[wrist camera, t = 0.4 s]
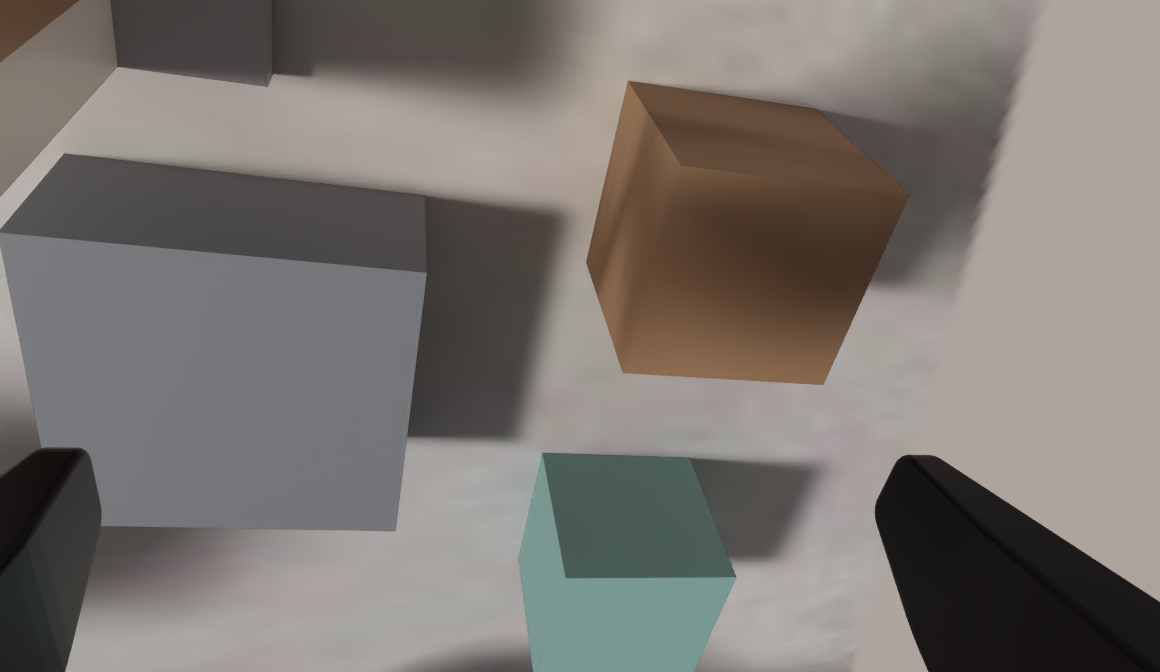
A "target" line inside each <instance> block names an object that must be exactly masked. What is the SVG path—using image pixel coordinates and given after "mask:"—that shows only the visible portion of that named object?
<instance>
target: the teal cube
mask: <svg viewBox="0 0 1160 672" xmlns="http://www.w3.org/2000/svg"><path fill="white" fill-rule="evenodd" d="M518 562H519V569H520V577H521V584H522V592H523V600H524V607H525V615H526V622H527V630H528V637H529V645H530V652H531V660H532V668H533V672H694V670H695V668H696V666H697V663H698V661H699V659H700V657H701V654H702V652H703V650H704V648H705V646H706V643H707V641H708V639H709V637H710V635H711V632H712V630H713V628H714V626H715V624H716V621H717V619H718V617H719V615H720V612H721V610H722V608H723V606H724V604H725V601H726V599H727V597H728V595H729V593H730V590H731V588H732V586H733V584H734V581H735V579H736V575H735V573H734V570H733V568H732V565H731V562H730V560H729V557H728V555H727V552H726V550H725V547H724V544H723V542H722V539H721V537H720V534H719V532H718V529H717V526H716V524H715V521H714V519H713V516H712V514H711V511H710V509H709V506H708V503H707V501H706V498H705V496H704V493H703V491H702V488H701V485H700V483H699V480H698V478H697V475H696V473H695V470H694V468H693V465H692V462H691V460H690V458H682V457H652V456H622V455H592V454H563V453H542V456H541V461H540V465H539V469H538V474H537V478H536V482H535V487H534V491H533V495H532V500H531V504H530V508H529V513H528V517H527V521H526V526H525V530H524V535H523V539H522V543H521V548H520V552H519V556H518Z"/></svg>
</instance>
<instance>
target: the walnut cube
mask: <svg viewBox="0 0 1160 672" xmlns="http://www.w3.org/2000/svg"><path fill="white" fill-rule="evenodd" d="M909 195H910V194H909V193H907V192H906V191H905V190H904V189H903V188H902V187H901V186H900V185H899V184H898V183H897V182H895V181H894V180H893V179H892V178H891V177H890V176H889V175H888V174H887V173H886V172H884V171H883V170H882V169H881V168H880V167H879V166H878V165H877V164H876V163H875V162H874V161H872V160H871V159H870V158H869V157H868V156H867V155H866V154H865V153H864V152H863V151H861V150H860V149H859V148H858V147H857V146H856V145H855V144H854V143H853V142H852V141H851V140H849V139H848V138H847V137H846V136H845V135H844V134H843V133H842V132H841V131H840V130H839V129H837V128H836V127H835V126H834V125H833V124H832V123H831V122H830V121H829V120H828V119H826V118H825V117H824V116H823V115H822V114H821V113H820V112H819V111H818V110H817V109H812V108H805V107H798V106H792V105H785V104H778V103H772V102H765V101H758V100H752V99H745V98H738V97H732V96H725V95H718V94H711V93H705V92H698V91H691V90H685V89H678V88H671V87H665V86H658V85H651V84H645V83H638V82H631V81H628V83H627V87H626V92H625V96H624V100H623V105H622V109H621V113H620V118H619V122H618V126H617V131H616V135H615V139H614V144H613V148H612V152H611V157H610V161H609V165H608V170H607V174H606V178H605V183H604V187H603V191H602V196H601V200H600V204H599V209H598V213H597V217H596V222H595V226H594V230H593V235H592V239H591V243H590V248H589V252H588V256H587V261H586V263H587V266H588V269H589V272H590V275H591V278H592V281H593V284H594V287H595V290H596V293H597V296H598V299H599V302H600V305H601V308H602V311H603V314H604V317H605V320H606V323H607V326H608V329H609V332H610V335H611V338H612V341H613V345H614V348H615V351H616V354H617V357H618V360H619V363H620V366H621V369H622V372H623V373H633V374H649V375H666V376H683V377H699V378H716V379H732V380H749V381H766V382H782V383H799V384H815V385H823V384H824V382H825V380H826V378H827V376H828V373H829V371H830V369H831V367H832V365H833V362H834V360H835V358H836V356H837V354H838V351H839V349H840V347H841V345H842V343H843V340H844V338H845V336H846V334H847V331H848V329H849V327H850V325H851V323H852V320H853V318H854V316H855V314H856V312H857V309H858V307H859V305H860V303H861V301H862V298H863V296H864V294H865V292H866V290H867V287H868V285H869V283H870V281H871V278H872V276H873V274H874V272H875V270H876V267H877V265H878V263H879V261H880V259H881V256H882V254H883V252H884V250H885V248H886V245H887V243H888V241H889V239H890V237H891V234H892V232H893V230H894V228H895V225H896V223H897V221H898V219H899V217H900V214H901V212H902V210H903V208H904V206H905V203H906V201H907V199H908V197H909Z"/></svg>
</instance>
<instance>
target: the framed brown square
mask: <svg viewBox="0 0 1160 672" xmlns="http://www.w3.org/2000/svg"><path fill="white" fill-rule="evenodd" d="M117 67H123V68H131V69H138V70H146V71H153V72H161V73H168V74H176V75H183V76H191V77H198V78H206V79H213V80H221V81H228V82H236V83H243V84H251V85H258V86H266V87H268V85H269V83H270V80H271V78H272V75H273V32H272V0H0V197H1V196H2V195H3V194H4V192H5V191H6V190H7V189H8V188H9V187H10V186H11V185H12V184H13V182H14V181H15V180H16V179H17V178H18V177H19V176H20V175H21V174H22V172H23V171H24V170H25V169H26V168H27V167H28V166H29V165H30V164H31V162H32V161H33V160H34V159H35V158H36V157H37V156H38V155H39V154H40V152H41V151H42V150H43V149H44V148H45V147H46V146H47V145H48V144H49V142H50V141H51V140H52V139H53V138H54V137H55V136H56V135H57V134H58V132H59V131H60V130H61V129H62V128H63V127H64V126H65V125H66V124H67V122H68V121H69V120H70V119H71V118H72V117H73V116H74V115H75V114H76V112H77V111H78V110H79V109H80V108H81V107H82V106H83V105H84V104H85V102H86V101H87V100H88V99H89V98H90V97H91V96H92V95H93V94H94V92H95V91H96V90H97V89H98V88H99V87H100V86H101V85H102V84H103V82H104V81H105V80H106V79H107V78H108V77H109V76H110V75H111V74H112V72H113V71H114V70H115V69H116V68H117Z"/></svg>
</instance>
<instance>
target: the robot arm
mask: <svg viewBox="0 0 1160 672" xmlns="http://www.w3.org/2000/svg"><path fill="white" fill-rule="evenodd" d="M101 518H102V510H101V503H100V498H99V494H98V489H97V484H96V480H95V475H94V470H93V466H92V461H91V458H90V456H89V454H88V452H87V451H86V450H84V449H82V448H78V447H44V448H39V449H37V450H35V451H33V452H31V453H30V454H29V455H27V456H26V457H25V458H23V459H22V460H20V461H19V462H18V463H16V464H15V465H14V466H12V467H11V468H10V469H8V470H7V471H6V472H4V473H3V474H1V475H0V672H65V670H66V667H67V663H68V659H69V655H70V652H71V648H72V644H73V640H74V635H75V631H76V627H77V623H78V619H79V615H80V611H81V607H82V603H83V598H84V594H85V590H86V586H87V582H88V578H89V574H90V570H91V566H92V561H93V557H94V553H95V549H96V545H97V541H98V537H99V533H100V528H101ZM875 519H876V524H877V527H878V530H879V533H880V536H881V539H882V542H883V546H884V549H885V552H886V555H887V558H888V561H889V564H890V567H891V570H892V573H893V576H894V580H895V583H896V586H897V589H898V592H899V595H900V598H901V601H902V605H903V607H904V610H905V614H906V617H907V619H908V622H909V625H910V628H911V631H912V634H913V636H914V639H915V641H916V644H917V646H918V648H919V651H920V653H921V655H922V658H923V660H924V663H925V665H926V667H927V670H928V672H1160V602H1159V601H1157V600H1156V599H1154V598H1153V597H1151V596H1150V595H1148V594H1147V593H1145V592H1143V591H1142V590H1141V589H1139V588H1138V587H1136V586H1134V585H1133V584H1131V583H1130V582H1128V581H1127V580H1125V579H1124V578H1122V577H1121V576H1119V575H1118V574H1116V573H1114V572H1113V571H1111V570H1110V569H1108V568H1107V567H1105V566H1104V565H1102V564H1101V563H1099V562H1098V561H1096V560H1095V559H1093V558H1091V557H1090V556H1088V555H1087V554H1085V553H1084V552H1082V551H1081V550H1079V549H1078V548H1076V547H1075V546H1073V545H1072V544H1070V543H1069V542H1067V541H1065V540H1064V539H1062V538H1061V537H1059V536H1058V535H1056V534H1055V533H1053V532H1052V531H1050V530H1049V529H1047V528H1046V527H1044V526H1043V525H1041V524H1039V523H1038V522H1036V521H1035V520H1033V519H1032V518H1030V517H1029V516H1027V515H1026V514H1024V513H1022V512H1021V511H1019V510H1018V509H1016V508H1015V507H1013V506H1012V505H1010V504H1009V503H1007V502H1006V501H1004V500H1003V499H1001V498H1000V497H998V496H997V495H995V494H994V493H992V492H990V491H989V490H987V489H986V488H984V487H983V486H981V485H980V484H978V483H977V482H975V481H973V480H972V479H970V478H969V477H967V476H966V475H964V474H963V473H961V472H960V471H958V470H957V469H955V468H954V467H952V466H951V465H949V464H947V463H946V462H944V461H943V460H941V459H940V458H938V457H936V456H932V455H905V456H902V457H901V458H900V459H898V460H897V462H896V463H895V465H894V467H893V469H892V471H891V473H890V475H889V477H888V479H887V481H886V483H885V485H884V487H883V489H882V491H881V493H880V495H879V497H878V499H877V501H876V505H875Z"/></svg>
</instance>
